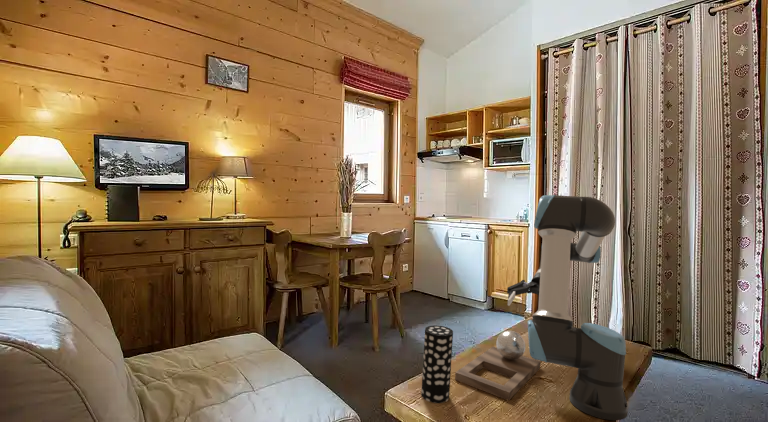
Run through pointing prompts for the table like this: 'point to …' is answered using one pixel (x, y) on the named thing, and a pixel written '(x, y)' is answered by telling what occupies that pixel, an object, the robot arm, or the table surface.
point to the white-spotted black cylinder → (437, 364)
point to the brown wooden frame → (496, 362)
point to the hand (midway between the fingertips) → (526, 308)
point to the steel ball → (510, 345)
